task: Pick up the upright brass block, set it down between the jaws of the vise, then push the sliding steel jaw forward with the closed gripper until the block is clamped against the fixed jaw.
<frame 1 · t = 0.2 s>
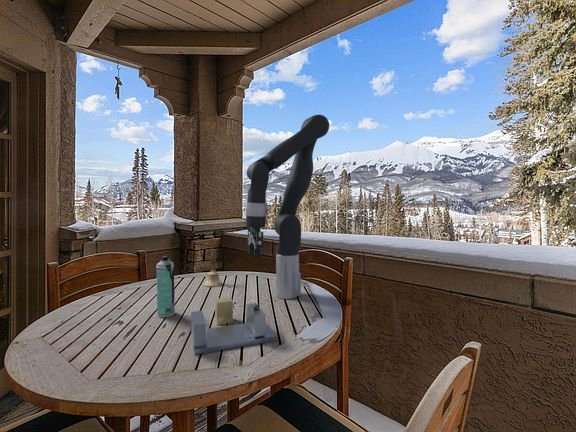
hand: (254, 256, 118), 17 cm above the table, tool pointing down, fingers open, 8 cm apart
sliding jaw: (255, 317, 89), point 5 cm above the table, slide at 0.0 cm
vise: (233, 337, 87), on the table
spray can: (166, 314, 104), on the table
block: (223, 321, 98), on the table
hand bell: (213, 284, 141), on the table
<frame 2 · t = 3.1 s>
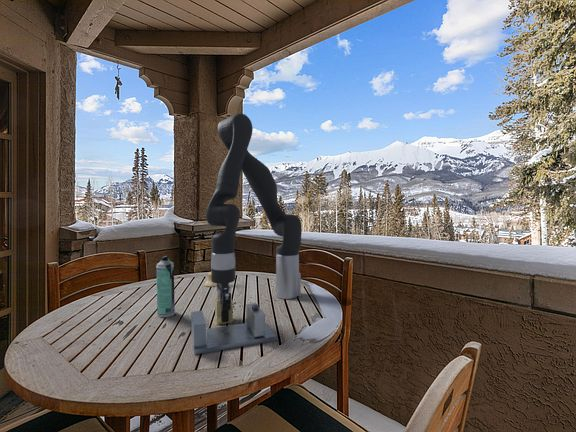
hand: (223, 318, 98), 1 cm above the table, tool pointing down, fingers closed on block, 4 cm apart
block: (223, 321, 98), on the table, touching gripper
everything else where it was.
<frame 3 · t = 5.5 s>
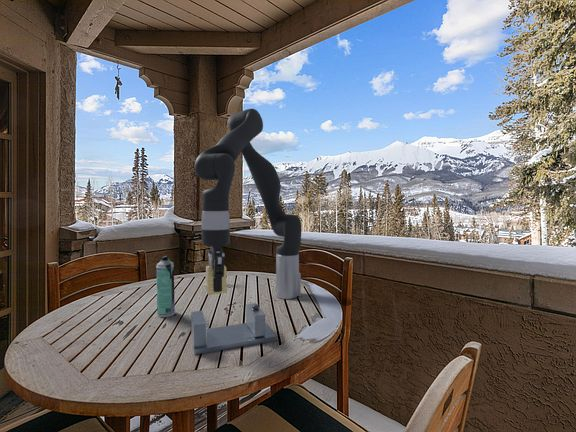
hand: (216, 288, 84), 15 cm above the table, tool pointing down, fingers closed on block, 4 cm apart
block: (216, 291, 84), point 14 cm above the table, touching gripper
everything else where it was.
when the fingers open (3 cm above the table, at t = 7.8 s): block drops 1 cm, resting on vise.
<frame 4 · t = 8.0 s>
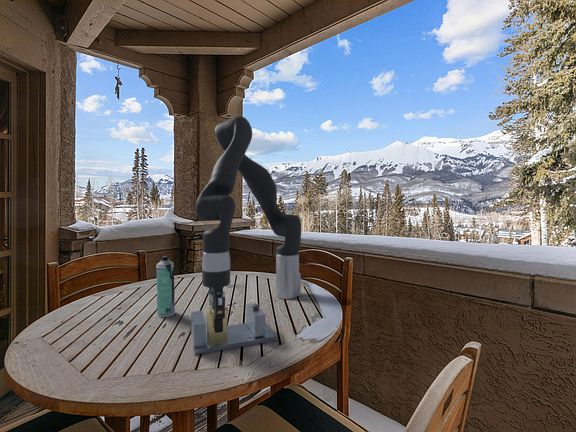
hand: (217, 327, 85), 4 cm above the table, tool pointing down, fingers open, 6 cm apart
block: (217, 335, 85), point 1 cm above the table, touching vise
everything else where it was.
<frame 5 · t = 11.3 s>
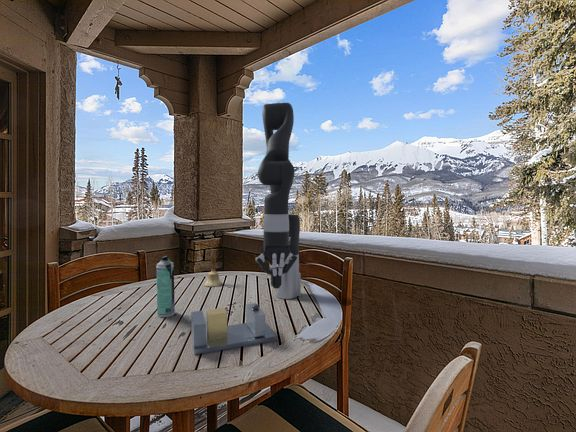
hand: (276, 287, 90), 13 cm above the table, tool pointing down, fingers closed
nothing on the table moved.
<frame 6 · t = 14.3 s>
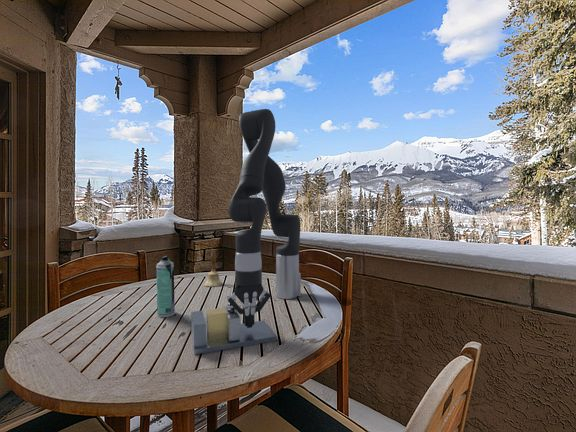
hand: (249, 326, 88), 3 cm above the table, tool pointing down, fingers closed
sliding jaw: (231, 320, 86), point 5 cm above the table, slide at 7.0 cm, touching block, hand
block: (216, 335, 85), point 1 cm above the table, touching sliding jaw, vise
everything else where it was.
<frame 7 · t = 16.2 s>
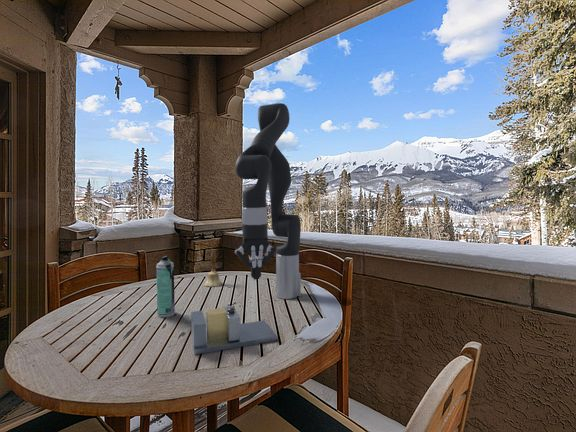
hand: (256, 278, 93), 15 cm above the table, tool pointing down, fingers closed
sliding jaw: (231, 320, 86), point 5 cm above the table, slide at 7.1 cm, touching block
everything else where it was.
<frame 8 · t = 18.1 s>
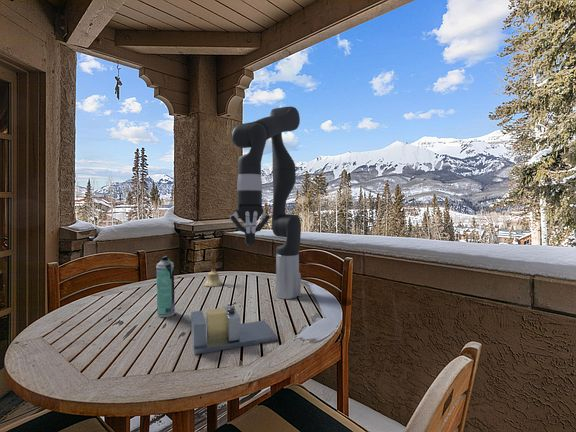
hand: (250, 245, 95), 25 cm above the table, tool pointing down, fingers closed
nothing on the table moved.
at the end: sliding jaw slide at 7.1 cm; block 1.2 cm from the target spot on the vise, point 1.2 cm above the vise's base; block tilted 0° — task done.
